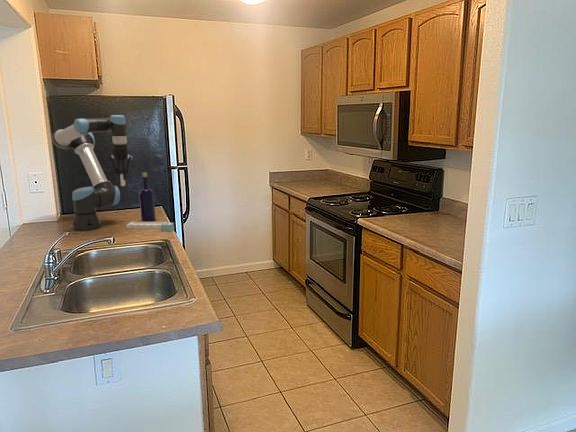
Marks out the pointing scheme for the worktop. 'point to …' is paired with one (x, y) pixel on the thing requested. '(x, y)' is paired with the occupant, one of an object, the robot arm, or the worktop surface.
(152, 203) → the bottle
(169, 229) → the stub
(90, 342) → the worktop surface
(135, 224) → the slab
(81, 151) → the robot arm
